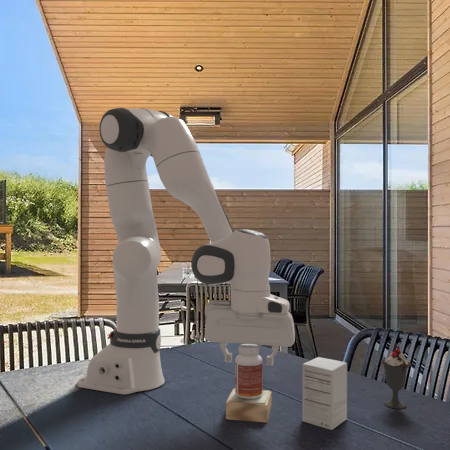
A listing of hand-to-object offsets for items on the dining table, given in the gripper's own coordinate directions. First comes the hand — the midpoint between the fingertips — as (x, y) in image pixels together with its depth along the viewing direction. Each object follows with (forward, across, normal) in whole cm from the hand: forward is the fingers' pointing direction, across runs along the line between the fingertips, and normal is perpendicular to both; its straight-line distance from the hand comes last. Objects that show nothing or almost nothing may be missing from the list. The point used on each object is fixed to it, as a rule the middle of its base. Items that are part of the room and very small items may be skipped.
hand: (248, 363), depth 112 cm
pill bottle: (+7, 0, 0) cm, 7 cm away
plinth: (+11, 0, 0) cm, 11 cm away
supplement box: (+11, +17, -1) cm, 20 cm away
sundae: (+11, +33, +12) cm, 37 cm away
